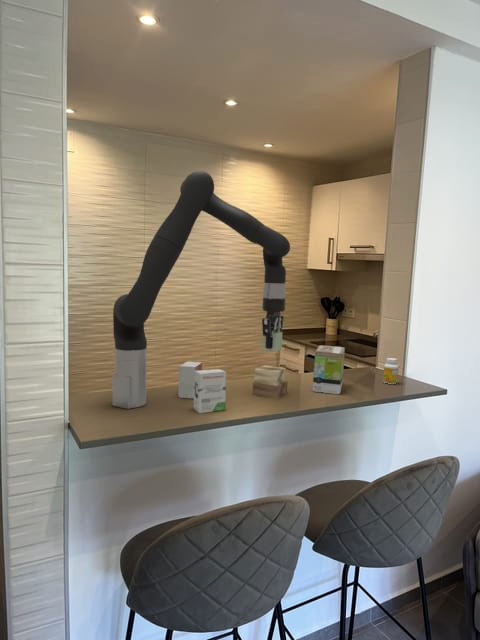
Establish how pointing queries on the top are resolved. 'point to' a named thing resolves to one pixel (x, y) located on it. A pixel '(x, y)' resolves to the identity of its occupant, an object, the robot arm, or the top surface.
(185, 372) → the small box
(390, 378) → the supplement bottle
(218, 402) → the ink box
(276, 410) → the top surface
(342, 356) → the tea box
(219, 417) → the top surface
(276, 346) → the sage block
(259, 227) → the robot arm
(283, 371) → the maple block
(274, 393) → the walnut block
